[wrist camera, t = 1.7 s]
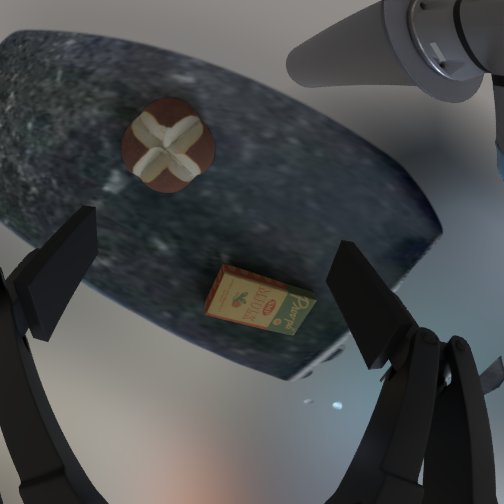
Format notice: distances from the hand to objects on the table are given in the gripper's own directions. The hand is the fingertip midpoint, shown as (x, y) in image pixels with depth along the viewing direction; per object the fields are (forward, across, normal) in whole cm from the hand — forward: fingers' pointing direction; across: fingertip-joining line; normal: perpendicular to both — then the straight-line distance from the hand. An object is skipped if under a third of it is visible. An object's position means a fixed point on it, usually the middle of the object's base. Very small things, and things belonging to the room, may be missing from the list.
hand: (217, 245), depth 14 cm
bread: (+24, -7, 0) cm, 25 cm away
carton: (+24, +10, -21) cm, 33 cm away
